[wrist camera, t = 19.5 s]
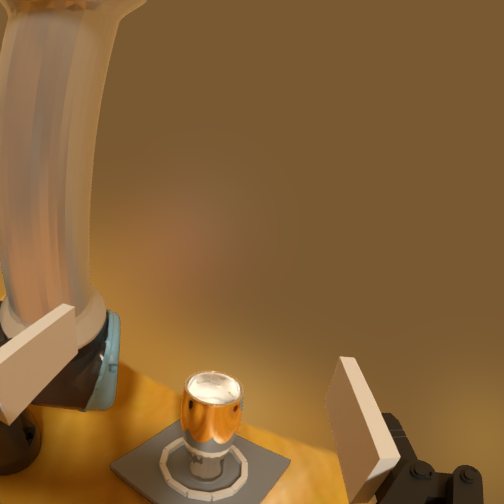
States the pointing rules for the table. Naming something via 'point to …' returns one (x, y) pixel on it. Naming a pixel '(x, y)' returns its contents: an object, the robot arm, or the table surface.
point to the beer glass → (209, 423)
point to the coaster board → (191, 493)
